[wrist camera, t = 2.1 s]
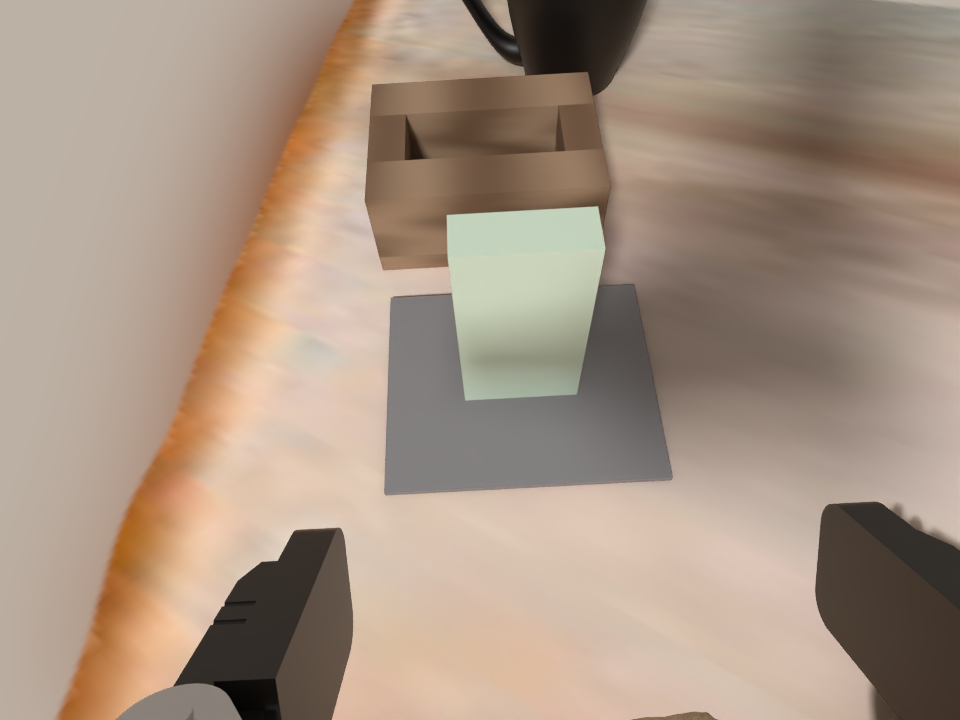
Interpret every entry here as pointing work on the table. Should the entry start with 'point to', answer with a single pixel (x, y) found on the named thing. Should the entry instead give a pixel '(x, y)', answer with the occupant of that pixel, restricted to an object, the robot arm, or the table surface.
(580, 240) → the tall mint green block
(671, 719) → the brown curved sheet
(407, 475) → the mat
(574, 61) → the mug
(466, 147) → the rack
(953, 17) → the table surface
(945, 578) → the robot arm
